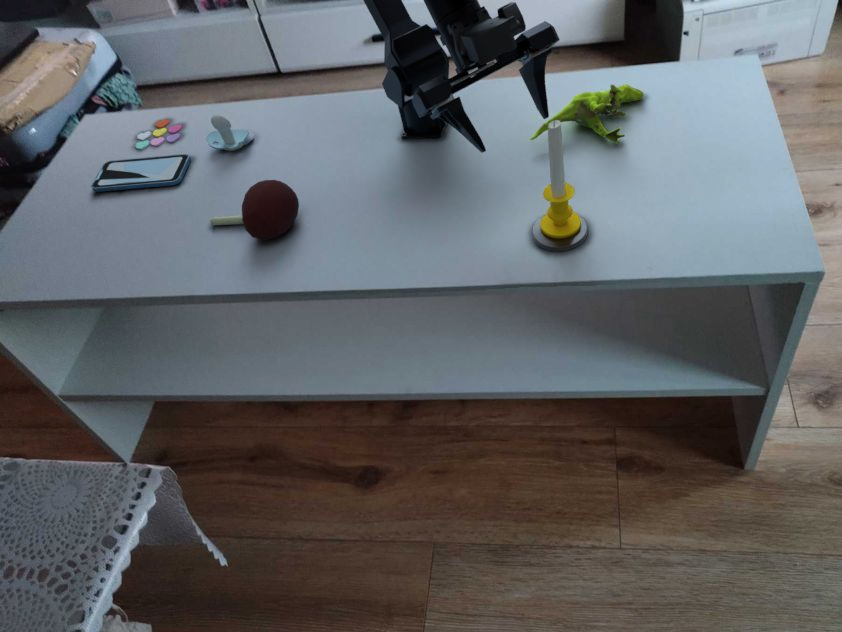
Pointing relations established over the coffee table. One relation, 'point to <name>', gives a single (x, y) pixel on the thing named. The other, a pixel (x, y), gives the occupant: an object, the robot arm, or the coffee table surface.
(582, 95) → the dinosaur figurine
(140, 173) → the smartphone
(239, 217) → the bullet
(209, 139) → the pacifier
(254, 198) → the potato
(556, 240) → the coaster
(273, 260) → the coffee table surface
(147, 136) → the candy hearts
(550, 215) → the candle
